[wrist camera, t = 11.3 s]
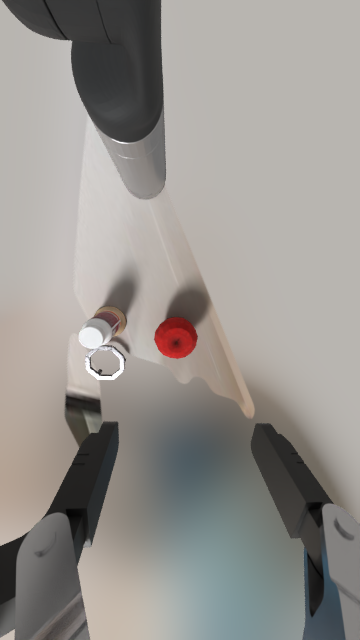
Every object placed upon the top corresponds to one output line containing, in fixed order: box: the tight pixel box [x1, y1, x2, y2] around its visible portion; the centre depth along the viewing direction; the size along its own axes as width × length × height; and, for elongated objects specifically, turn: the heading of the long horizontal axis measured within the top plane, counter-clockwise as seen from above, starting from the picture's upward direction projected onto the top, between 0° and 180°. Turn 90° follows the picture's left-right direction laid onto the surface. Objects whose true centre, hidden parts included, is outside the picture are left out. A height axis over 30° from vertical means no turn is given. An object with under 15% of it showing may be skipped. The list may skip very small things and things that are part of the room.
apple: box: [154, 317, 198, 359], centre depth 41 cm, size 10×10×11 cm
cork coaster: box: [94, 306, 126, 336], centre depth 44 cm, size 8×8×1 cm
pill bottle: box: [79, 310, 121, 349], centre depth 39 cm, size 6×6×11 cm
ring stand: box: [85, 345, 126, 380], centre depth 46 cm, size 10×10×2 cm
